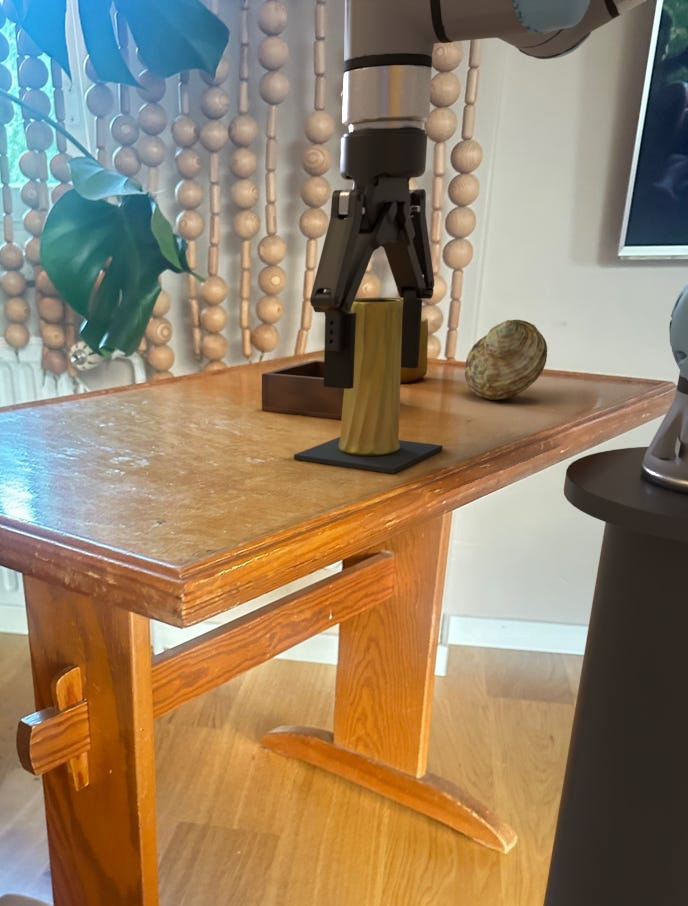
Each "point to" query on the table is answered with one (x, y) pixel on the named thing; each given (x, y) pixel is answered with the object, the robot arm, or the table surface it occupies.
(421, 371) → the mug
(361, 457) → the mat
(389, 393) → the vase
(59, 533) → the table surface
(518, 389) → the seashell
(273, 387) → the bin
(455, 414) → the table surface
